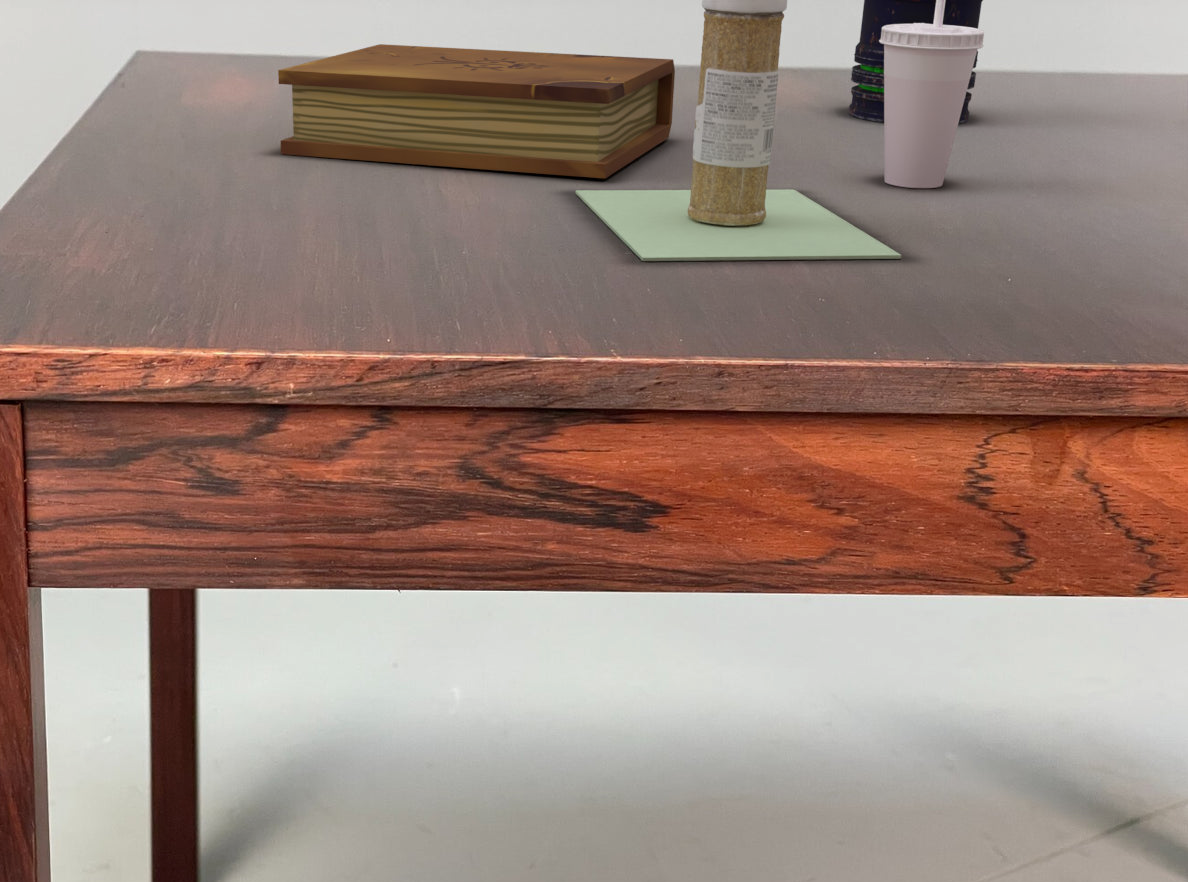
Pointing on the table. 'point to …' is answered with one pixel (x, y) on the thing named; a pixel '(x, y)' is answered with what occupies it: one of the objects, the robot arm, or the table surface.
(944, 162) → the smoothie
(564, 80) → the diary
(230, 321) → the table surface
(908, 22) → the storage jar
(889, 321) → the table surface
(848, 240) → the mat
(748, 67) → the sprinkles bottle
